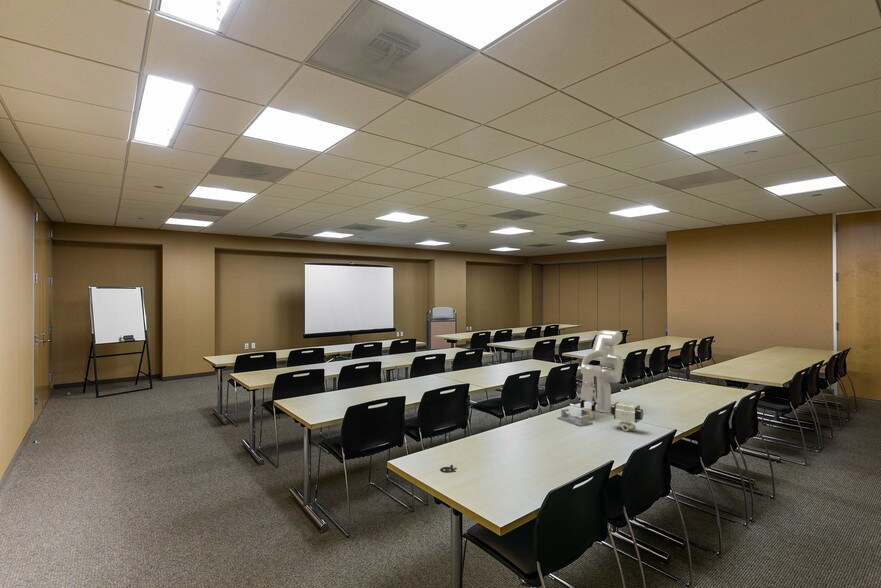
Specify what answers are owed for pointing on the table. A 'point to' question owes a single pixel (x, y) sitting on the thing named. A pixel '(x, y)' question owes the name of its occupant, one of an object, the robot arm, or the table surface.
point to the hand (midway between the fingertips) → (587, 409)
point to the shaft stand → (574, 418)
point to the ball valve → (627, 414)
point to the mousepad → (448, 469)
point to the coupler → (588, 413)
